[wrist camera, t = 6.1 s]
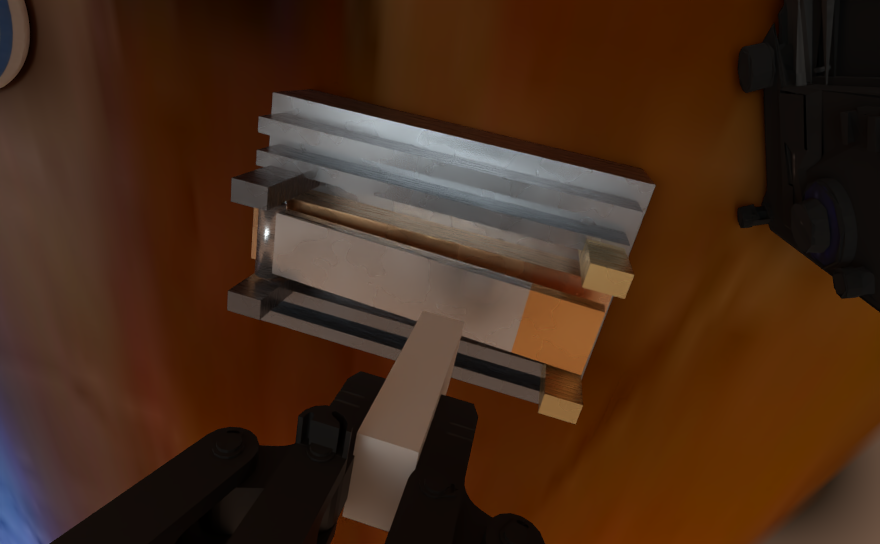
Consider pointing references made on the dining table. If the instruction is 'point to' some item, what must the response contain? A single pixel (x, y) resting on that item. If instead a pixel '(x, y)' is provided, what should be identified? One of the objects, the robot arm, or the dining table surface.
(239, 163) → the dining table surface
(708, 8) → the dining table surface
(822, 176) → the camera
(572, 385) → the heatsink block
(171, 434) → the dining table surface
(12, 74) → the supplement tub
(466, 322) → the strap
